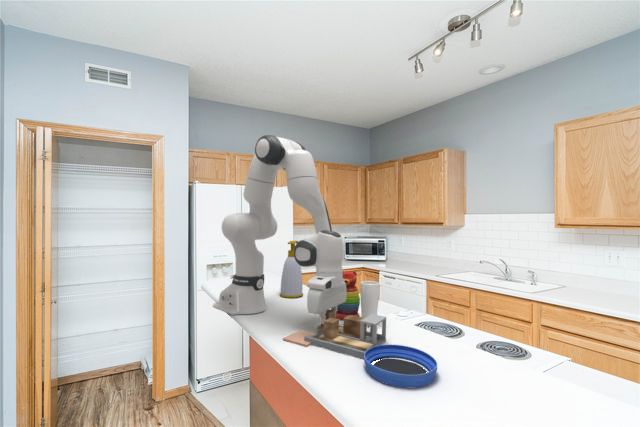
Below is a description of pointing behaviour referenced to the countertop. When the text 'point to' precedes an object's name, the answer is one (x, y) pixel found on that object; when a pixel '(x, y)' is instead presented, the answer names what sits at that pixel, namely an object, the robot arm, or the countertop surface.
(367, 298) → the drinking glass
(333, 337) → the strip near
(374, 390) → the countertop surface
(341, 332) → the strip far
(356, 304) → the stacking bear
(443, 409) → the countertop surface
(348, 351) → the lane board
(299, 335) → the coaster
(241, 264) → the robot arm
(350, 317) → the walnut block
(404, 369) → the blue round shallow tray
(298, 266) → the soap bottle
